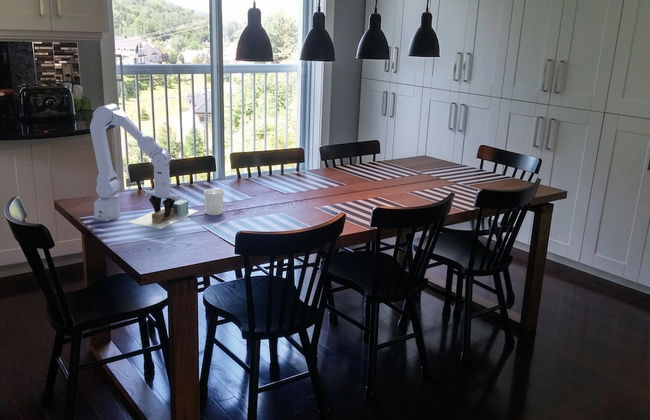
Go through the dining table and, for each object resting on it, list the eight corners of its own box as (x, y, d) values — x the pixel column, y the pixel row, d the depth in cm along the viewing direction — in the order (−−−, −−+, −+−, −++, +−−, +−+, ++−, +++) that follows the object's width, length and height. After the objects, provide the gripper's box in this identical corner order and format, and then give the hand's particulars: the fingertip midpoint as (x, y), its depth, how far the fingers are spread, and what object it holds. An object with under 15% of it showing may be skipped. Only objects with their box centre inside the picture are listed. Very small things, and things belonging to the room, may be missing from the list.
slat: (158, 223, 230) (158, 215, 229) (152, 222, 231) (151, 213, 230) (173, 216, 239) (173, 208, 238) (167, 215, 240) (167, 207, 239)
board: (161, 230, 225) (161, 228, 225) (127, 224, 230) (127, 222, 229) (198, 212, 248) (198, 210, 248) (167, 207, 253) (167, 205, 253)
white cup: (214, 210, 252) (214, 187, 250) (227, 214, 248) (227, 191, 245) (200, 214, 247) (199, 190, 244) (212, 218, 242) (212, 194, 239)
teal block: (180, 216, 239) (179, 204, 238) (165, 214, 242) (164, 202, 240) (188, 212, 245) (188, 200, 243) (173, 210, 247) (173, 198, 245)
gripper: (184, 182, 231) (184, 216, 235) (152, 177, 236) (153, 210, 240) (173, 186, 225) (174, 220, 229) (141, 181, 230) (142, 215, 234)
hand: (162, 215), depth 234 cm, fingers open, 4 cm apart
